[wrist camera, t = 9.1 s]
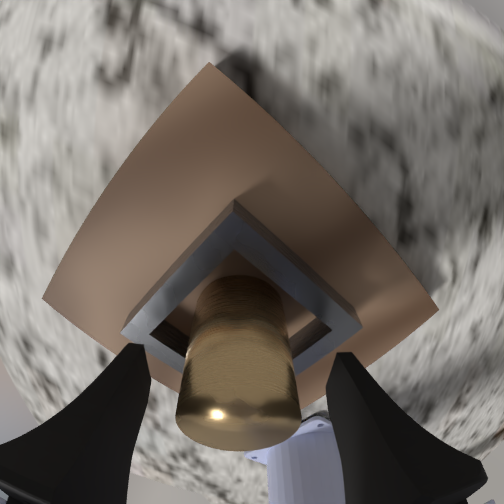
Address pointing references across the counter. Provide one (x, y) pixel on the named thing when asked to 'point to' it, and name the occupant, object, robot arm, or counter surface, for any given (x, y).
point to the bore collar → (268, 262)
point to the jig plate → (208, 208)
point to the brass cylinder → (239, 369)
